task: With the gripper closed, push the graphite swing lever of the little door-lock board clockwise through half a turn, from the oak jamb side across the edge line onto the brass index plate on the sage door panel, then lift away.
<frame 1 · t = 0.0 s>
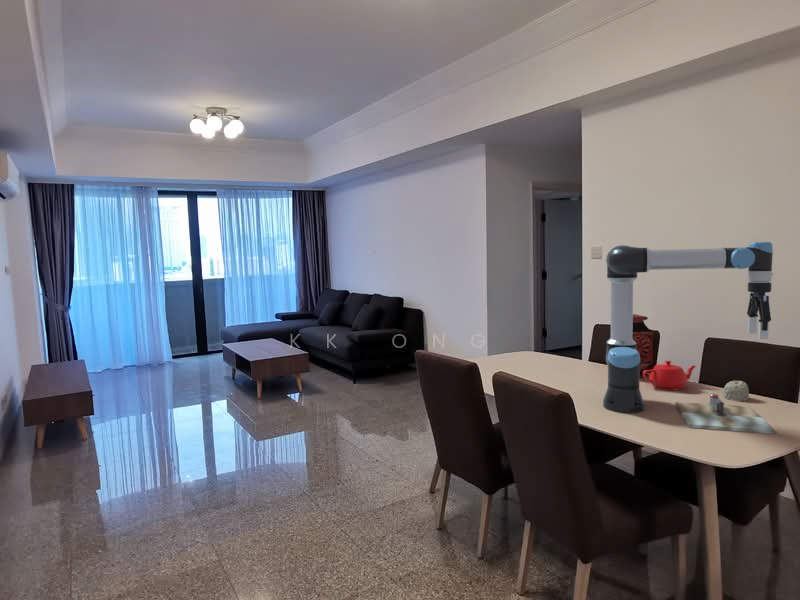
hand: (757, 336, 205), 28 cm above the table, fingers open, 13 cm apart
lock board: (720, 418, 194), on the table
teapot: (669, 387, 238), on the table
vase: (631, 375, 262), on the table
lever: (716, 402, 200), point 4 cm above the table, hinge at 0.0°
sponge: (735, 398, 219), on the table
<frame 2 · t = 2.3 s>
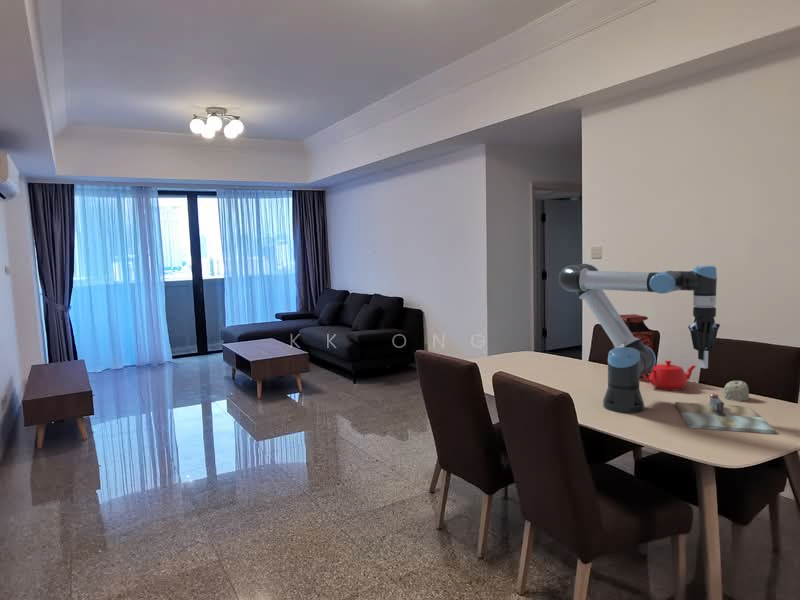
hand: (703, 367, 201), 17 cm above the table, fingers closed
nothing on the table moved.
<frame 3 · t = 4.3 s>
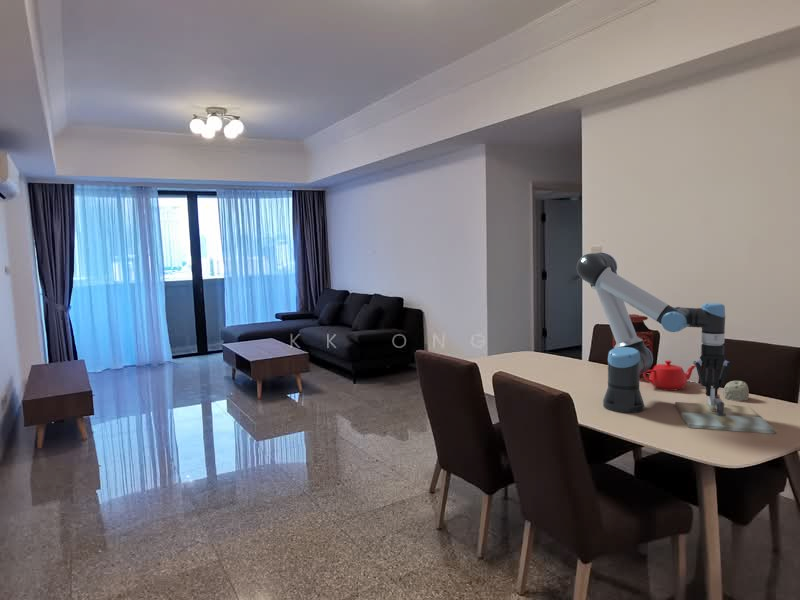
hand: (711, 404, 202), 3 cm above the table, fingers closed
lever: (717, 402, 200), point 4 cm above the table, hinge at 2.5°, touching gripper
everything else where it was.
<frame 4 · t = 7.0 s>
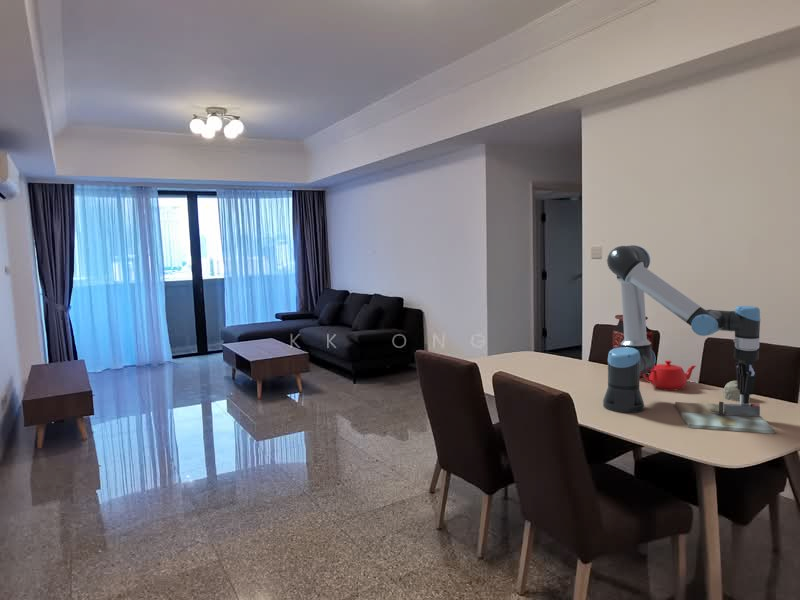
hand: (744, 410, 194), 3 cm above the table, fingers closed
lever: (741, 408, 192), point 4 cm above the table, hinge at 85.5°, touching gripper
everything else where it was.
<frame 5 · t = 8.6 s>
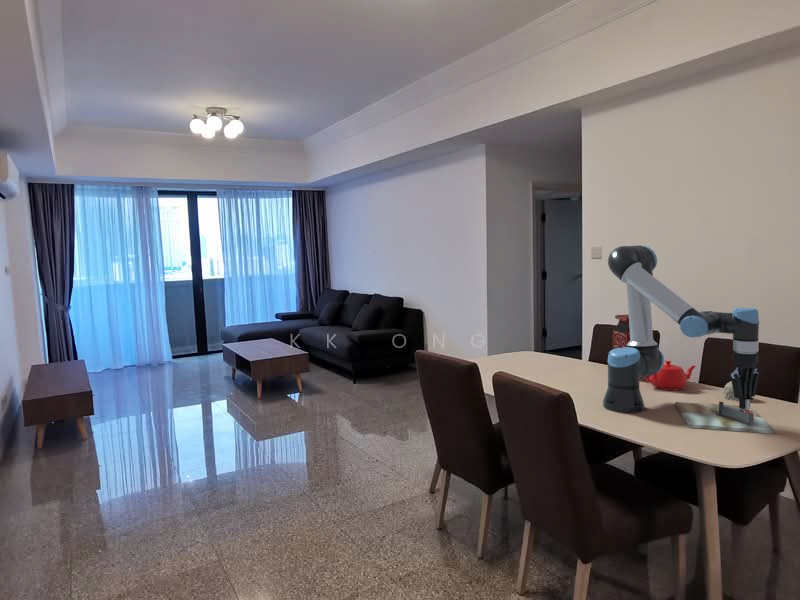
hand: (744, 416, 187), 3 cm above the table, fingers closed
lever: (737, 413, 187), point 4 cm above the table, hinge at 145.5°, touching gripper
everything else where it was.
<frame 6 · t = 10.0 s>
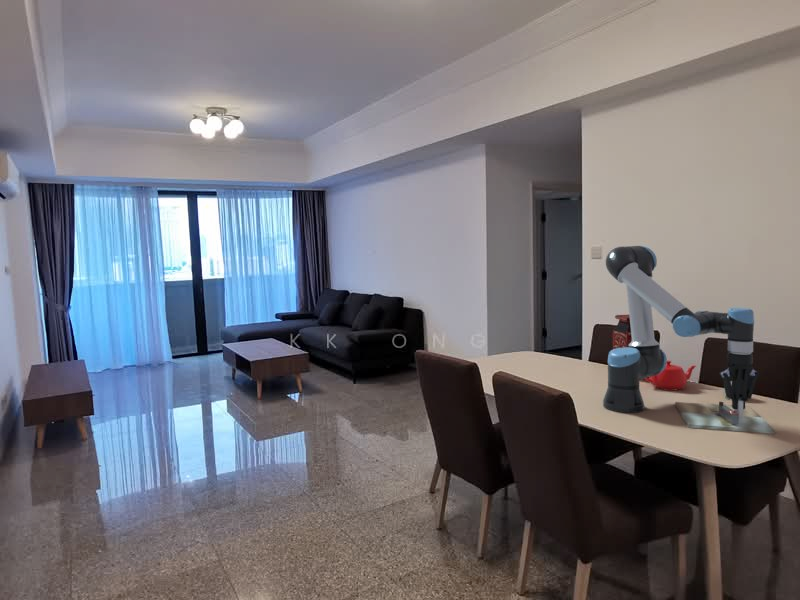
hand: (738, 417, 185), 3 cm above the table, fingers closed
lever: (728, 413, 187), point 4 cm above the table, hinge at 172.4°
everything else where it was.
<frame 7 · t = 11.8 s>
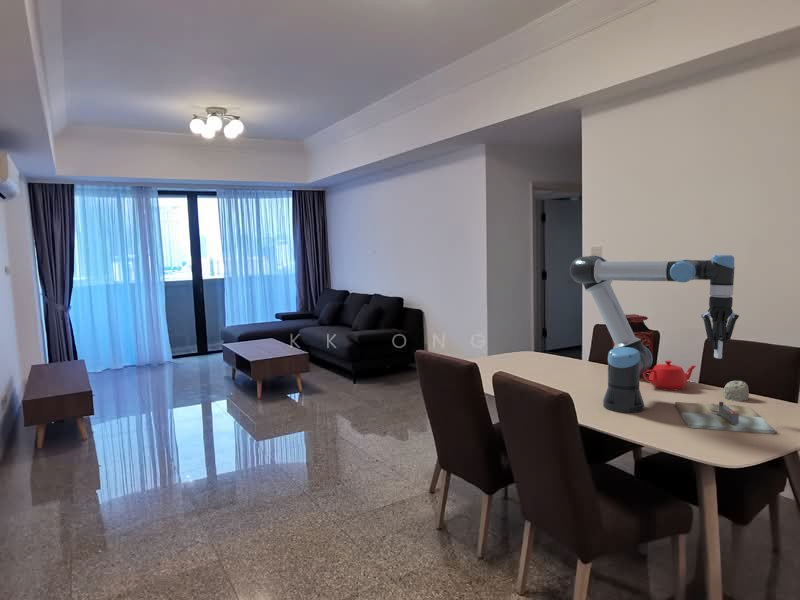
hand: (717, 357, 199), 21 cm above the table, fingers closed
nothing on the table moved.
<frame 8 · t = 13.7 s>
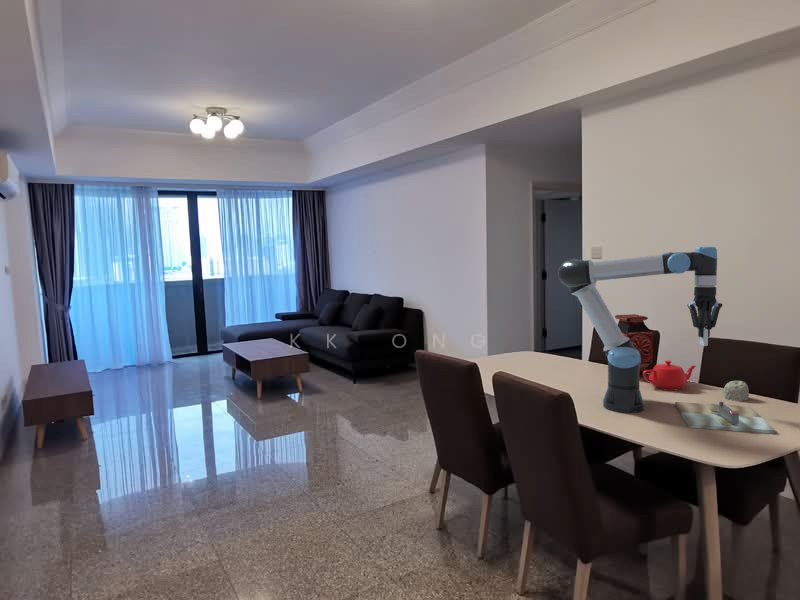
hand: (703, 345, 208), 24 cm above the table, fingers closed
nothing on the table moved.
at the end: lever at +172° (first picture: +0°) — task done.
